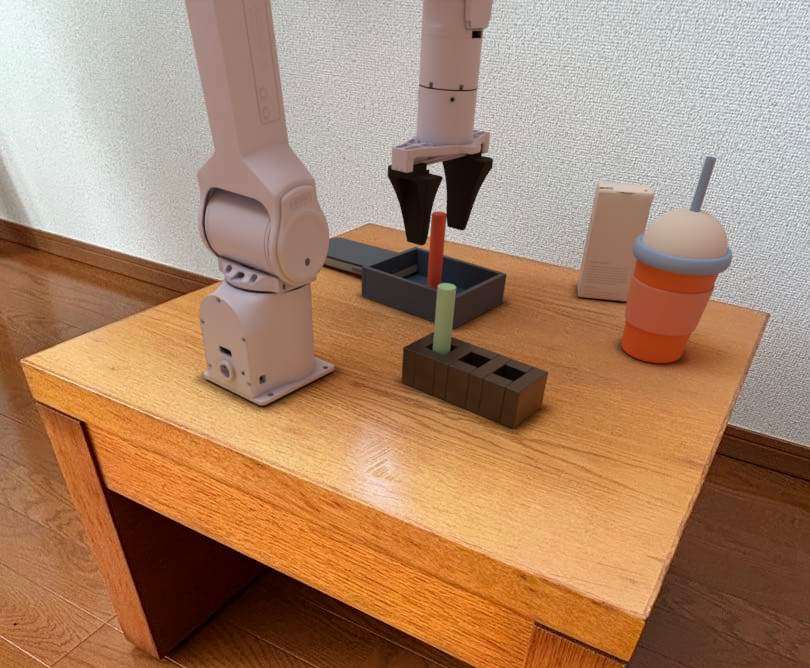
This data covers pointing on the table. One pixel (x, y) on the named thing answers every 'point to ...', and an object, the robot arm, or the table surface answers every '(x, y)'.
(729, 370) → the table surface
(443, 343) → the green rod
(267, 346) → the robot arm
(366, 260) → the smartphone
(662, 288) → the cup with straw
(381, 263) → the bin
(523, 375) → the straw rack
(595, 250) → the cosmetic box
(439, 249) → the red rod
